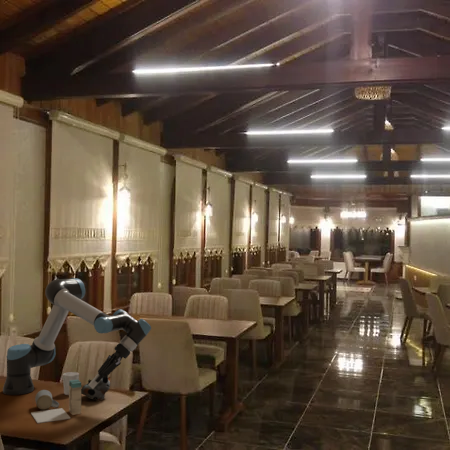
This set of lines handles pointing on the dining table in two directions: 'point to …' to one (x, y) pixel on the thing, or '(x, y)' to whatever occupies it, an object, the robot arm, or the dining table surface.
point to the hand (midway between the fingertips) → (90, 386)
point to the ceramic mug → (45, 400)
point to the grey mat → (50, 415)
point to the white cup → (67, 378)
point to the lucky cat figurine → (97, 389)
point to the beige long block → (75, 397)
